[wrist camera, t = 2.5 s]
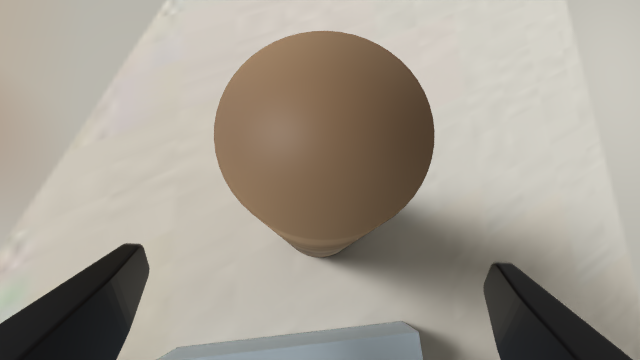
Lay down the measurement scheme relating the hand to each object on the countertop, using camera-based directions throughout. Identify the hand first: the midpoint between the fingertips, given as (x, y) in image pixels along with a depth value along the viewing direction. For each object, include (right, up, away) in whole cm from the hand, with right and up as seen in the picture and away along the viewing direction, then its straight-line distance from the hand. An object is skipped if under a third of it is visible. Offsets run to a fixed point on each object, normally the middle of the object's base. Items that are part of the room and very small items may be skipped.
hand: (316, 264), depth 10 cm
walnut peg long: (0, 0, +10) cm, 10 cm away
